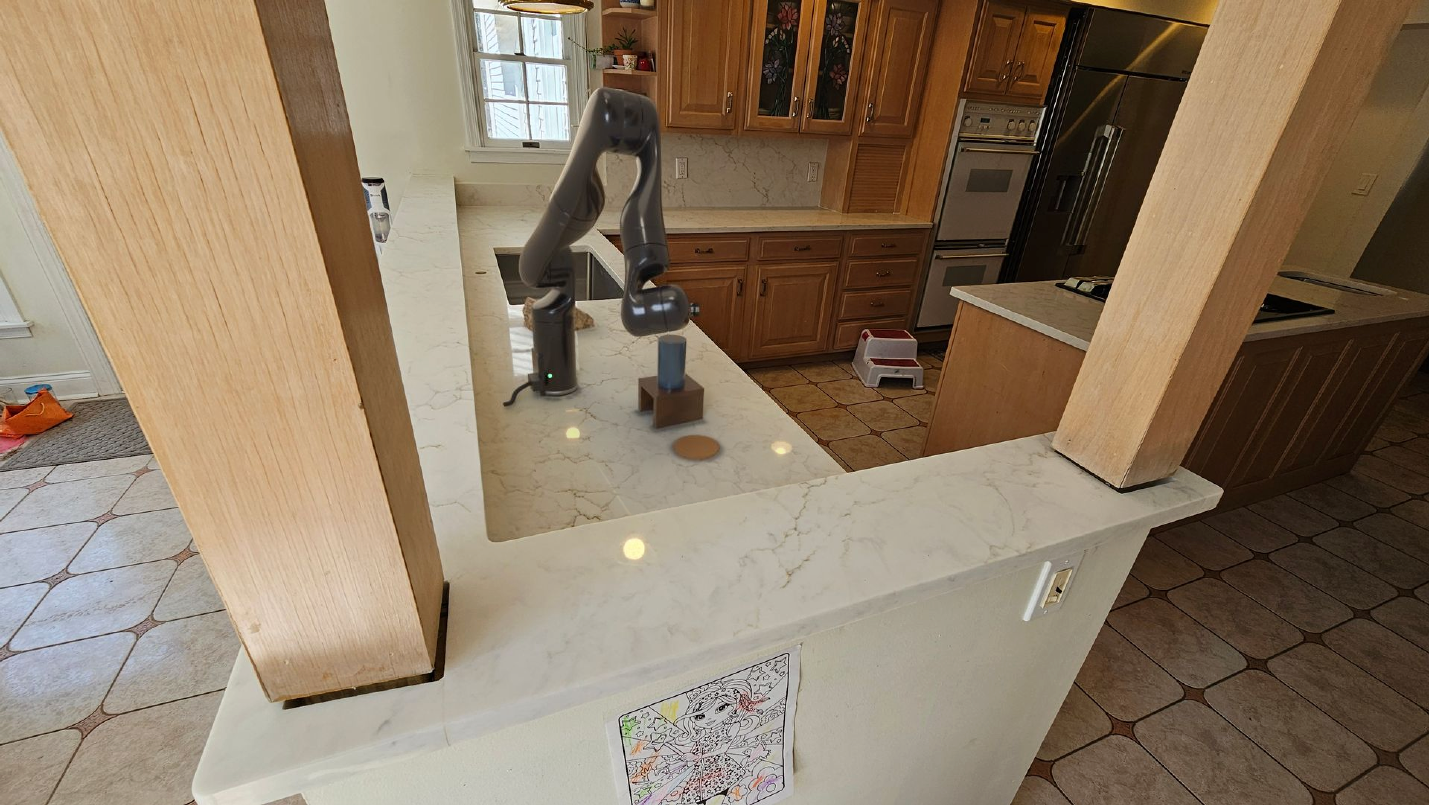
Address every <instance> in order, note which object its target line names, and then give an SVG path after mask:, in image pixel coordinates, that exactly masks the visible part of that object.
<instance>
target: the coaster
mask: <svg viewBox="0 0 1429 805" xmlns="http://www.w3.org/2000/svg"><path fill="white" fill-rule="evenodd" d="M673 449H674V452H675V453H676V454H678V455H679V456H680V457H682V458H686V459H689V460H698V461H699V460H706V459H709V458H713V457H714V456H716V455H717V454H718V453H719V451H720V444H719V443H718V441H716V440H715V439H714V438H711V437H710V436H706V435H700V434H699V435H698V434H693V435H692V434H691V435H684V436H682V437H680V438H677V439H676V441H675V442H674V444H673Z"/></svg>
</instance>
